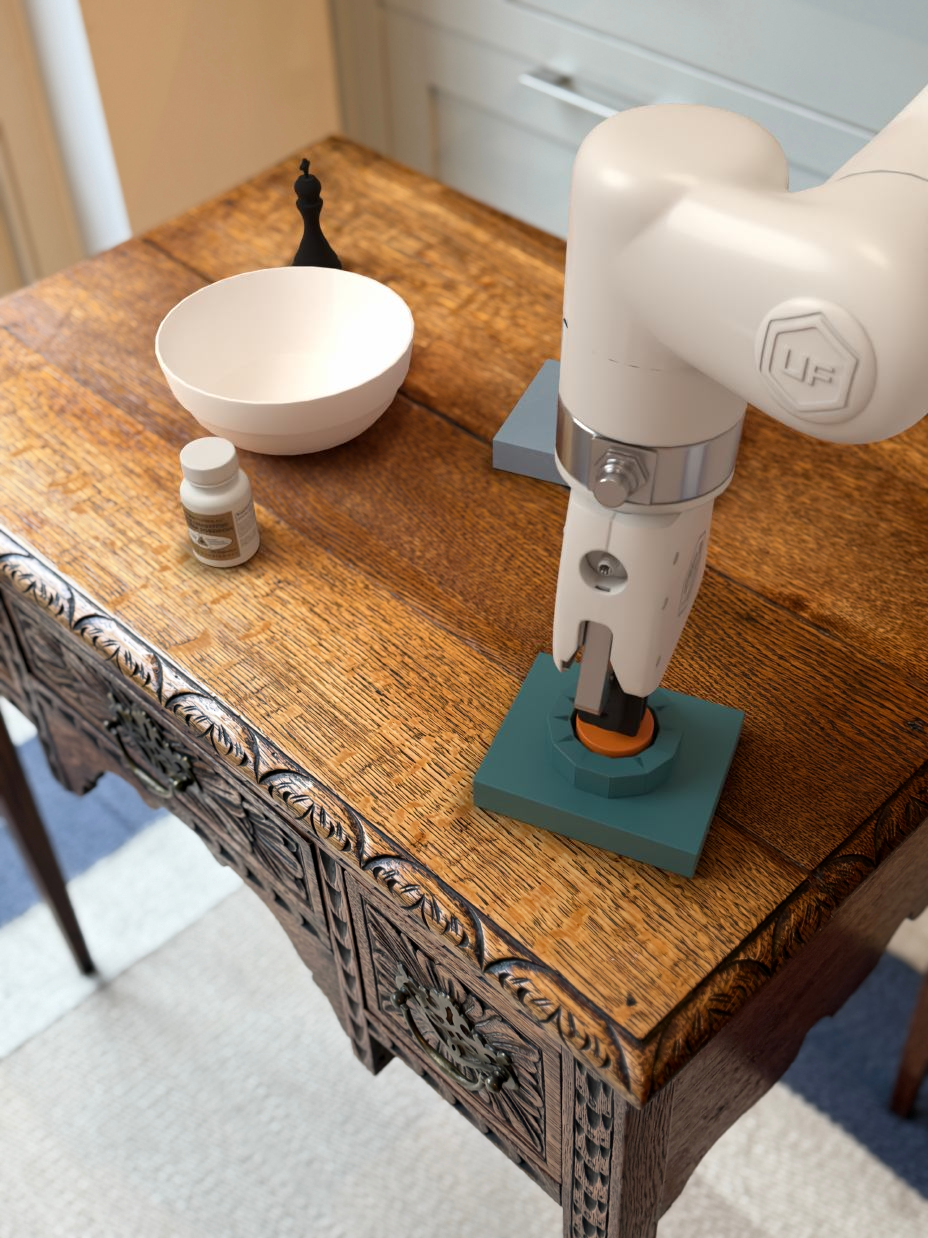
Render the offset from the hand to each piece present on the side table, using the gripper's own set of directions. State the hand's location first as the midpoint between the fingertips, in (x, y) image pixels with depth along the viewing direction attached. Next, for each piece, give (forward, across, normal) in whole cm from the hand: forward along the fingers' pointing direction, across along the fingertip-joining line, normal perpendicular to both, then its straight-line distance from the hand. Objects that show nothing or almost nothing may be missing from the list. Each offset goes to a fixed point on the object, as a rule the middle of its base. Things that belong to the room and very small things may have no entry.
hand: (611, 718), depth 61 cm
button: (+2, 0, 0) cm, 2 cm away
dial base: (+4, +28, +9) cm, 30 cm away
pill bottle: (+5, +8, +29) cm, 30 cm away
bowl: (+5, +23, +32) cm, 39 cm away
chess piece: (+5, +43, +41) cm, 59 cm away
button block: (+4, 0, 0) cm, 4 cm away
